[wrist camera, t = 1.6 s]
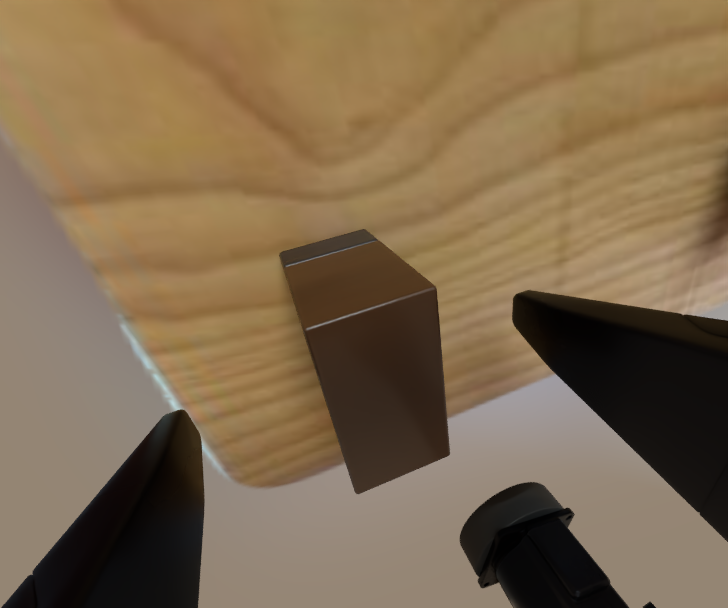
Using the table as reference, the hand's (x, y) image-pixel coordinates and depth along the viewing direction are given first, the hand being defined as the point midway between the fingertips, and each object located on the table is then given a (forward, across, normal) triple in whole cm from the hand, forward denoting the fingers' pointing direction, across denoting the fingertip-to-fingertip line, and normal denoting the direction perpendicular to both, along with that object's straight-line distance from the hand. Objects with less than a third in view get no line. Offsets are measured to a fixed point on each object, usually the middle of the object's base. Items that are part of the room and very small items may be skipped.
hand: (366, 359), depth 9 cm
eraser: (+3, 0, 0) cm, 3 cm away
